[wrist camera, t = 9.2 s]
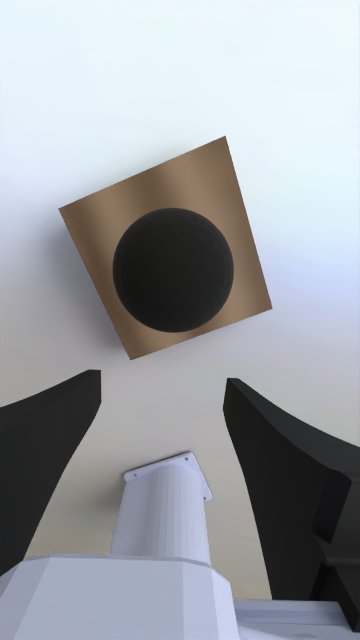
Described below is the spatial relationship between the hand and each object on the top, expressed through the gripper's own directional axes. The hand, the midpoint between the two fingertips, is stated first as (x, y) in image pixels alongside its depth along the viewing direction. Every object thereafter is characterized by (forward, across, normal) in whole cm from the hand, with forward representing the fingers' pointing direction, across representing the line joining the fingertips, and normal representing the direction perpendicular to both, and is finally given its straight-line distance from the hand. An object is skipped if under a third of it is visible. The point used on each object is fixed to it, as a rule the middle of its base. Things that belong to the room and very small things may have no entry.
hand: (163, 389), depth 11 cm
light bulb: (+8, 0, -6) cm, 10 cm away
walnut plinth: (+10, 0, -7) cm, 13 cm away
